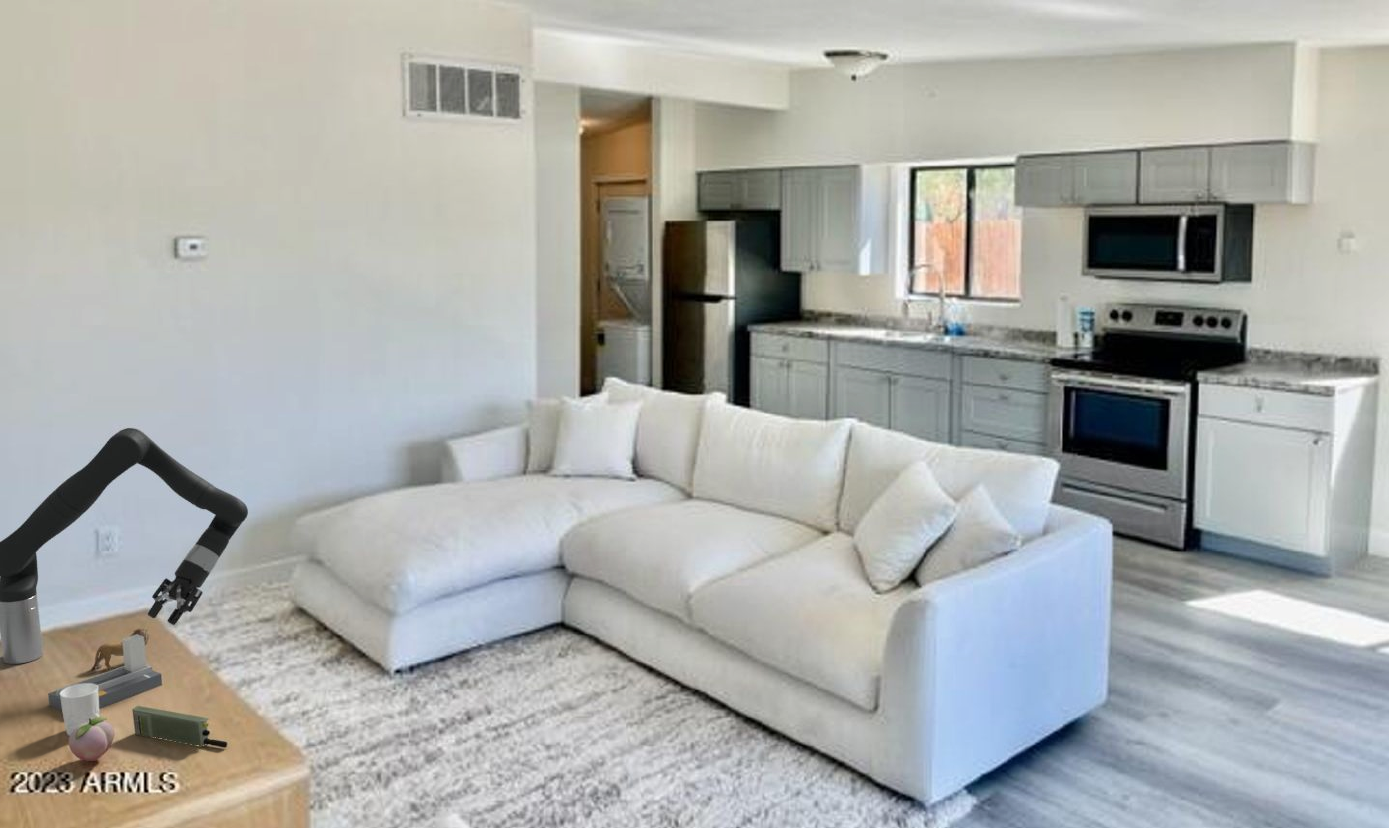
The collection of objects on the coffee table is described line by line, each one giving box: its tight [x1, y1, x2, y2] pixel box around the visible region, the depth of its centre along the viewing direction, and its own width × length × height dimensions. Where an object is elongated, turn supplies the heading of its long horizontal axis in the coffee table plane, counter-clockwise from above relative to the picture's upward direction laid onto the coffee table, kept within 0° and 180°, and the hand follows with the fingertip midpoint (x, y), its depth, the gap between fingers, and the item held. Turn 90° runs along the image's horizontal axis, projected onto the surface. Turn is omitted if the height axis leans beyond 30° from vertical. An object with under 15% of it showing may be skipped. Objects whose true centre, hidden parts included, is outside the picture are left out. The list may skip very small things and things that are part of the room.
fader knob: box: [121, 634, 148, 674], centre depth 288 cm, size 4×4×9 cm
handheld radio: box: [132, 705, 228, 748], centre depth 259 cm, size 7×3×25 cm
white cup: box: [60, 683, 100, 737], centre depth 263 cm, size 8×8×10 cm
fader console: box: [47, 665, 163, 711], centre depth 282 cm, size 12×22×4 cm, turn 148°
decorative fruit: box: [68, 716, 115, 762], centre depth 249 cm, size 9×8×10 cm
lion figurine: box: [90, 627, 150, 671], centre depth 300 cm, size 15×5×9 cm, turn 132°
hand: (160, 620), depth 293 cm, fingers open, 8 cm apart
